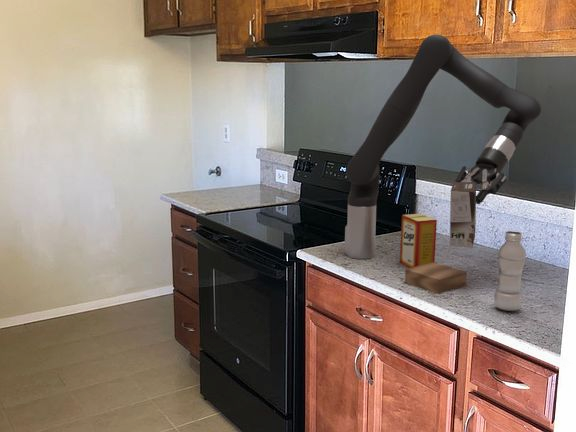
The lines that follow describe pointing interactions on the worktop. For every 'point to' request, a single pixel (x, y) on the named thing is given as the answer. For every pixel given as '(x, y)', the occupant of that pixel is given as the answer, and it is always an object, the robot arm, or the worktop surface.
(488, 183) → the robot arm
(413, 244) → the baking soda box
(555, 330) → the worktop surface
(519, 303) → the plastic bottle
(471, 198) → the coffee box
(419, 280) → the brown flat square block
